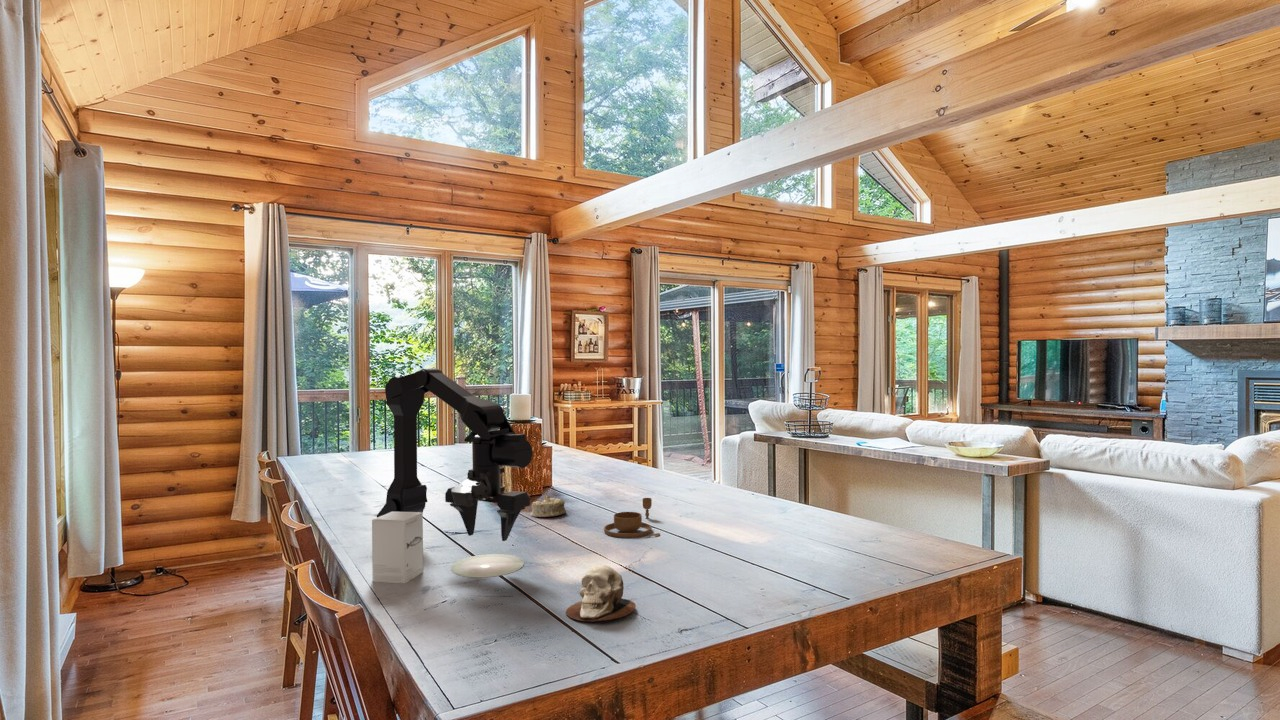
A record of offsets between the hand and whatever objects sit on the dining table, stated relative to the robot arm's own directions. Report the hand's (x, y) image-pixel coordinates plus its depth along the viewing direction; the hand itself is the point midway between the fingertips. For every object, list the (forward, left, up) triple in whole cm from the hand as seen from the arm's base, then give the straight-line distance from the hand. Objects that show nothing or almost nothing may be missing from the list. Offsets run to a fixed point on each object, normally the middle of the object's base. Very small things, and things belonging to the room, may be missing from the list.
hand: (487, 538), depth 147 cm
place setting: (+14, +42, -7) cm, 44 cm away
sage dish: (0, 0, -6) cm, 6 cm away
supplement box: (-11, -14, -6) cm, 19 cm away
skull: (+38, -10, -8) cm, 41 cm away
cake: (-17, +44, -6) cm, 48 cm away
